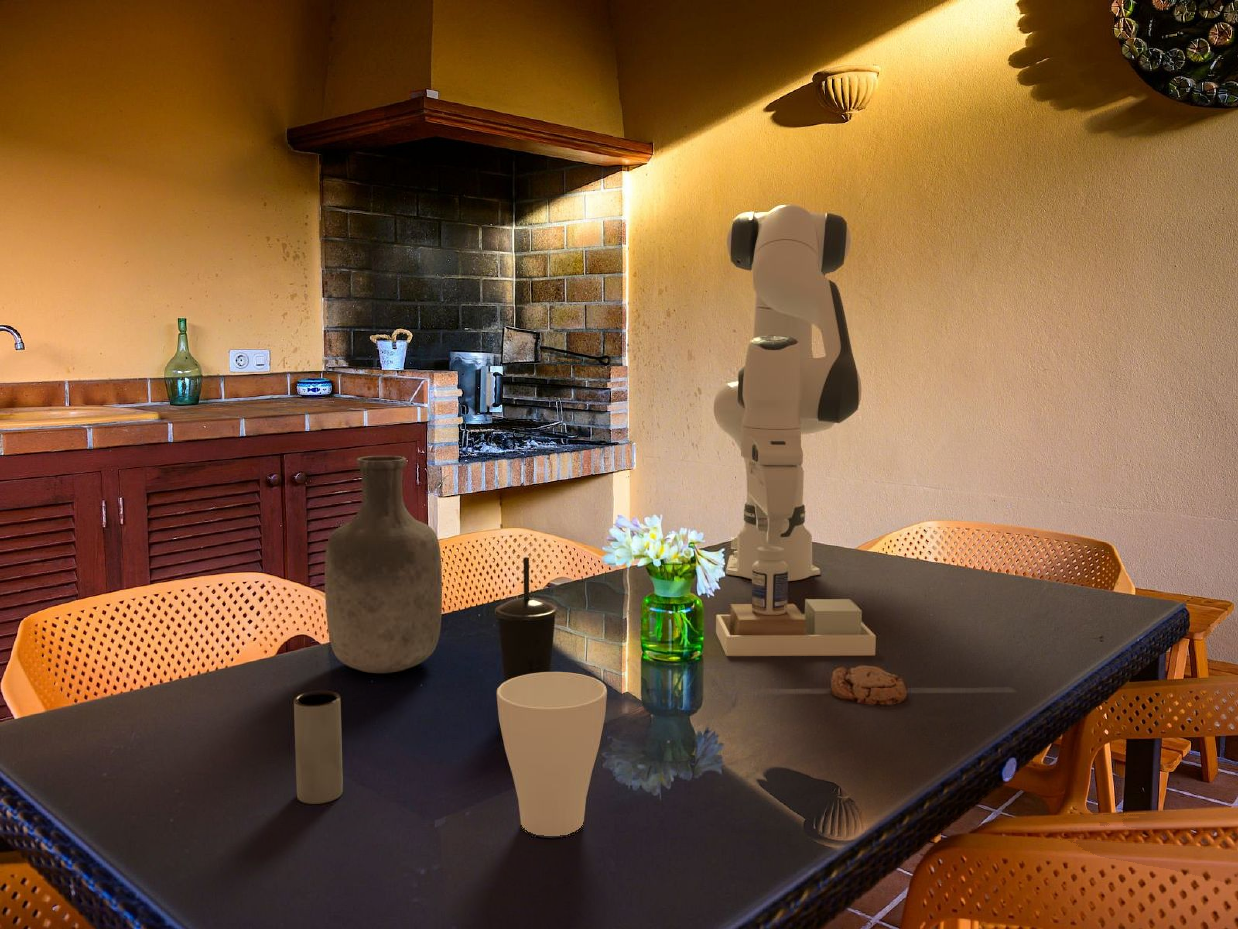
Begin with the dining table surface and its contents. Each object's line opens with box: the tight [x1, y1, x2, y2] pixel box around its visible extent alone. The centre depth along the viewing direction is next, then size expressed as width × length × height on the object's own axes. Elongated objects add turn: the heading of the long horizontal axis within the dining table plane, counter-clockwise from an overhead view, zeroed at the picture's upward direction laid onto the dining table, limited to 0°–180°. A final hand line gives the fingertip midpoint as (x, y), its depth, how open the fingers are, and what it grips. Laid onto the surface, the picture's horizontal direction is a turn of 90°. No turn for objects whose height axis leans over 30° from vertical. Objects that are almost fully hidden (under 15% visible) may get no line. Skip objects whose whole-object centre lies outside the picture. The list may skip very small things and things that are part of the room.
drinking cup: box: [494, 556, 559, 683], centre depth 127 cm, size 8×8×20 cm
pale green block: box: [804, 598, 863, 635], centre depth 157 cm, size 7×7×6 cm
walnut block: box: [729, 603, 807, 635], centre depth 157 cm, size 9×10×5 cm
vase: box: [324, 455, 443, 674], centre depth 144 cm, size 16×16×30 cm
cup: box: [496, 671, 608, 836], centre depth 99 cm, size 10×10×14 cm
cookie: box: [830, 665, 907, 706], centre depth 138 cm, size 10×11×3 cm
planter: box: [293, 690, 344, 805], centre depth 105 cm, size 4×4×10 cm
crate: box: [715, 613, 877, 657], centre depth 157 cm, size 12×22×4 cm, turn 92°
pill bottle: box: [751, 546, 789, 615], centre depth 156 cm, size 5×5×10 cm
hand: (767, 536), depth 155 cm, fingers open, 8 cm apart
